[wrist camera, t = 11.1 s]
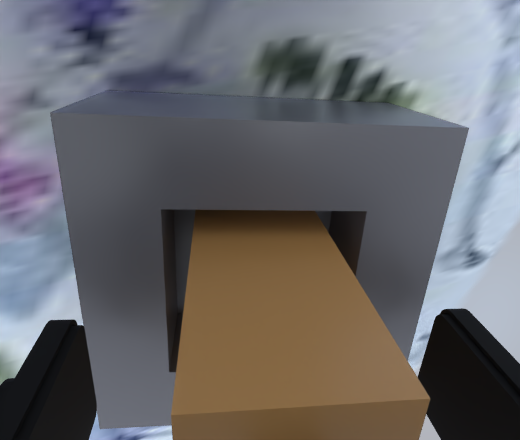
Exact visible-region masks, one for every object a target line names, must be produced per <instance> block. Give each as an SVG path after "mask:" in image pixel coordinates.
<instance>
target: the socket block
mask: <svg viewBox="0 0 520 440" xmlns="http://www.w3.org/2000/svg"><path fill="white" fill-rule="evenodd" d="M50 114H51V121H52V127H53V133H54V140H55V146H56V153H57V159H58V165H59V172H60V178H61V184H62V191H63V197H64V204H65V210H66V216H67V223H68V229H69V235H70V242H71V248H72V255H73V261H74V267H75V274H76V280H77V286H78V293H79V299H80V306H81V312H82V318H83V325H84V328H85V333H86V340H87V346H88V352H89V358H90V364H91V370H92V376H93V382H94V389H95V395H96V401H97V414H98V420H99V427H100V429H109V428H127V427H146V426H164V425H172V422H171V411H172V403H173V394H174V386H175V377H176V369H177V361H178V352H179V344H180V336H181V327H182V319H183V311H184V302H185V294H186V285H187V277H188V269H189V260H190V252H191V244H192V235H193V227H194V219H195V210H289V211H315V212H316V213H317V215H318V217H319V218H320V220H321V222H322V223H323V225H324V226H325V228H326V230H327V231H328V233H329V235H330V236H331V238H332V239H333V241H334V243H335V244H336V246H337V248H338V249H339V251H340V252H341V254H342V256H343V257H344V259H345V261H346V262H347V264H348V265H349V267H350V269H351V270H352V272H353V274H354V275H355V277H356V278H357V280H358V282H359V283H360V285H361V287H362V288H363V290H364V291H365V293H366V295H367V296H368V298H369V300H370V301H371V303H372V304H373V306H374V308H375V309H376V311H377V313H378V314H379V316H380V317H381V319H382V321H383V322H384V324H385V326H386V327H387V329H388V330H389V332H390V334H391V335H392V337H393V339H394V340H395V342H396V343H397V345H398V347H399V348H400V350H401V352H402V353H403V355H404V356H405V358H406V360H407V361H408V357H409V353H410V350H411V346H412V342H413V338H414V334H415V331H416V327H417V323H418V319H419V315H420V312H421V308H422V304H423V300H424V297H425V293H426V289H427V285H428V281H429V278H430V274H431V270H432V266H433V262H434V259H435V255H436V251H437V247H438V244H439V240H440V236H441V232H442V228H443V225H444V221H445V217H446V213H447V209H448V206H449V202H450V198H451V194H452V191H453V187H454V183H455V179H456V175H457V172H458V168H459V164H460V160H461V156H462V153H463V149H464V145H465V141H466V138H467V134H468V130H469V128H467V127H464V126H461V125H458V124H454V123H451V122H448V121H445V120H442V119H438V118H435V117H432V116H429V115H426V114H423V113H419V112H416V111H413V110H410V109H407V108H403V107H400V106H397V105H394V104H391V103H381V102H359V101H336V100H313V99H291V98H268V97H245V96H223V95H200V94H178V93H155V92H132V91H110V90H107V91H104V92H102V93H99V94H96V95H94V96H91V97H89V98H86V99H84V100H81V101H79V102H76V103H73V104H71V105H68V106H66V107H63V108H61V109H58V110H56V111H53V112H50Z"/></svg>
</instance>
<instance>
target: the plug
mask: <svg viewBox="0 0 520 440" xmlns="http://www.w3.org/2000/svg"><path fill="white" fill-rule="evenodd" d="M429 402H430V397H429V395H428V394H427V392H426V391H425V389H424V387H423V386H422V384H421V382H420V381H419V379H418V378H417V376H416V374H415V373H414V371H413V369H412V368H411V366H410V365H409V363H408V361H407V360H406V358H405V356H404V355H403V353H402V352H401V350H400V348H399V347H398V345H397V343H396V342H395V340H394V339H393V337H392V335H391V334H390V332H389V330H388V329H387V327H386V326H385V324H384V322H383V321H382V319H381V317H380V316H379V314H378V313H377V311H376V309H375V308H374V306H373V304H372V303H371V301H370V300H369V298H368V296H367V295H366V293H365V291H364V290H363V288H362V287H361V285H360V283H359V282H358V280H357V278H356V277H355V275H354V274H353V272H352V270H351V269H350V267H349V265H348V264H347V262H346V261H345V259H344V257H343V256H342V254H341V252H340V251H339V249H338V248H337V246H336V244H335V243H334V241H333V239H332V238H331V236H330V235H329V233H328V231H327V230H326V228H325V226H324V225H323V223H322V222H321V220H320V218H319V217H318V215H317V213H316V212H315V211H289V210H195V219H194V227H193V235H192V244H191V252H190V260H189V269H188V277H187V285H186V294H185V302H184V311H183V319H182V327H181V336H180V344H179V352H178V361H177V369H176V377H175V386H174V394H173V403H172V411H171V422H172V435H173V440H419V437H420V433H421V430H422V426H423V423H424V419H425V416H426V412H427V409H428V405H429Z"/></svg>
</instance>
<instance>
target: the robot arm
mask: <svg viewBox="0 0 520 440" xmlns="http://www.w3.org/2000/svg"><path fill="white" fill-rule="evenodd" d="M418 379H419V381H420V382H421V384H422V386H423V387H424V389H425V391H426V392H427V394H428V395H429V397H430V402H429V405H428V409H427V412H426V414H427V416H428V418H429V419H430V421H431V423H432V425H433V426H434V428H435V430H436V432H437V433H438V435H439V437H440V438H441V440H520V364H519V363H518V362H517V361H516V360H515V358H513V356H512V355H511V354H510V353H509V352H508V351H507V350H506V349H505V348H504V347H503V346H502V345H501V344H500V343H499V342H498V341H497V340H496V339H495V338H494V337H493V336H492V334H490V332H489V331H488V330H487V329H486V328H485V327H484V326H483V325H482V324H481V323H480V322H479V321H478V320H477V319H476V318H475V317H474V316H473V315H472V314H471V313H470V312H469V311H468V310H466V309H445V310H443V311H442V312H441V313H440V315H437V316H436V318H435V321H434V324H433V327H432V331H431V334H430V337H429V341H428V344H427V348H426V351H425V354H424V358H423V361H422V364H421V368H420V371H419V375H418ZM96 411H97V401H96V395H95V389H94V382H93V376H92V370H91V364H90V358H89V352H88V346H87V340H86V333H85V328H84V326H82V325H78V326H77V322H76V321H75V320H50V321H48V323H47V324H46V326H45V327H44V329H43V331H42V332H41V334H40V336H39V338H38V339H37V341H36V343H35V344H34V346H33V348H32V350H31V351H30V353H29V355H28V356H27V358H26V360H25V362H24V363H23V365H22V367H21V369H20V370H19V372H18V374H17V375H16V377H15V378H10V379H7V380H5V381H4V382H3V383H2V384H1V385H0V440H89V437H90V433H91V430H92V427H93V424H94V420H95V417H96Z"/></svg>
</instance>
